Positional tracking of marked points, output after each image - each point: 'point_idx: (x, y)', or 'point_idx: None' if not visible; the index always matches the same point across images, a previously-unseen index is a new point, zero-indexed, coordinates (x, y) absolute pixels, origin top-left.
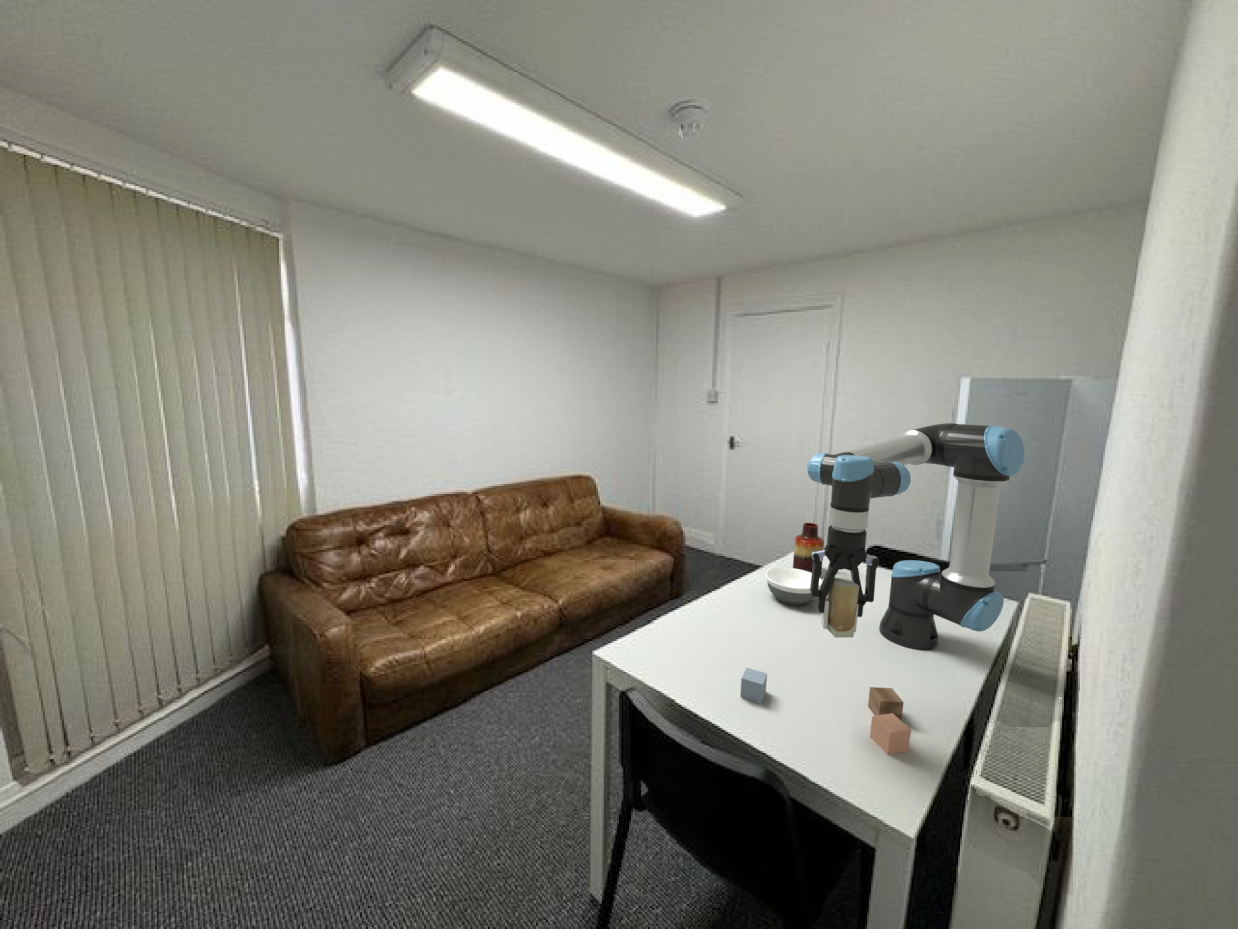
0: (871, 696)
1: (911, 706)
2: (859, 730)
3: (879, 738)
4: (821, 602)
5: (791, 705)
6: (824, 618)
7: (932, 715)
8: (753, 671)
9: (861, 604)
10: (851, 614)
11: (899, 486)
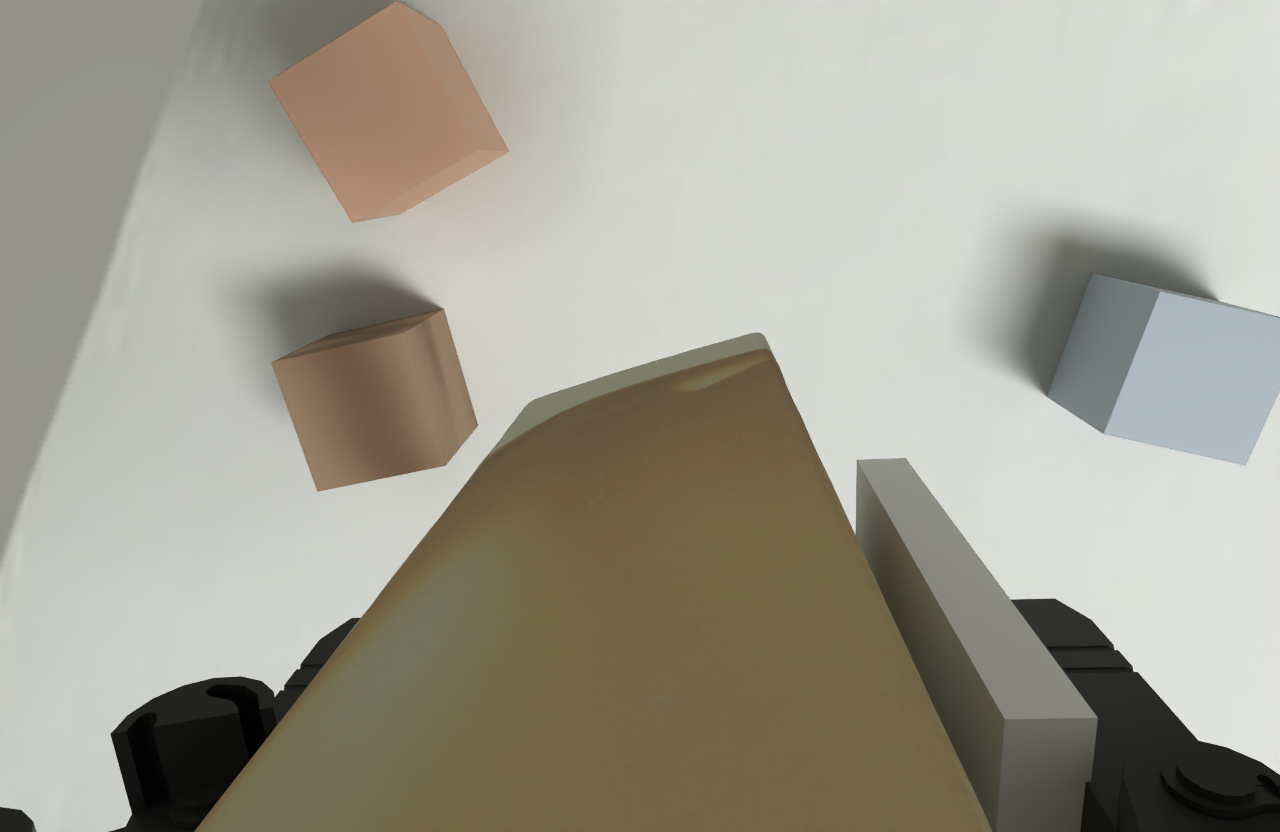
0: (449, 424)
1: (257, 487)
2: (556, 192)
3: (463, 85)
4: (1135, 731)
5: (908, 308)
6: (944, 523)
7: (167, 439)
8: (1202, 431)
9: (239, 722)
10: (514, 501)
11: None
